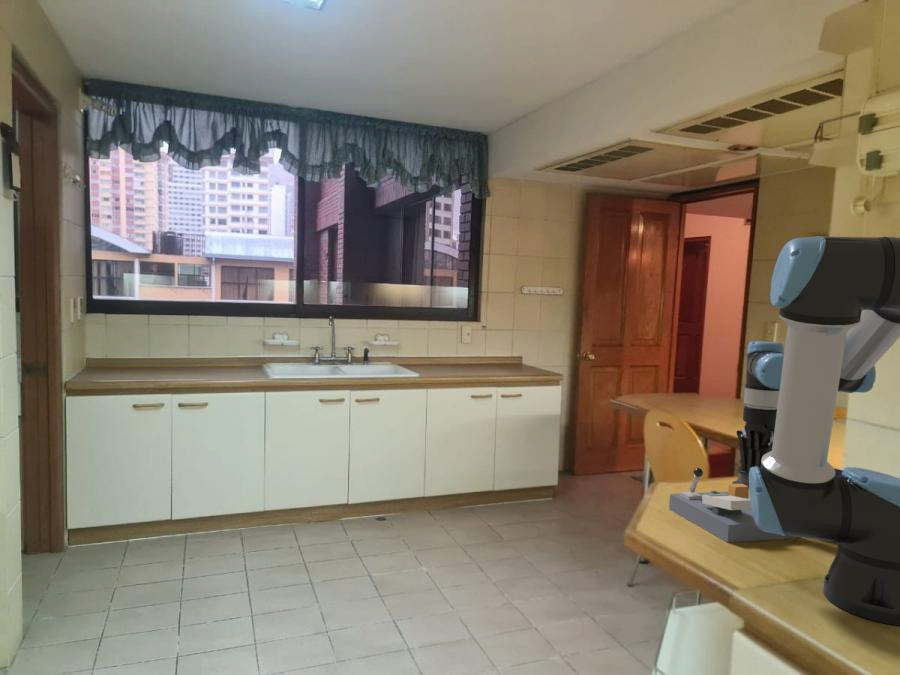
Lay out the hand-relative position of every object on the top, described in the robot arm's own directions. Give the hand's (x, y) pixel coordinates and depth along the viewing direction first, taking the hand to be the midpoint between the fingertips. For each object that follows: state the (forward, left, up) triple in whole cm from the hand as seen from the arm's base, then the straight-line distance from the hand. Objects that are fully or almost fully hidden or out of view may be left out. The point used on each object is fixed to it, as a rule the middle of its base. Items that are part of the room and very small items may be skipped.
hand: (754, 504), depth 143 cm
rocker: (0, +8, +1) cm, 8 cm away
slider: (+6, 0, -2) cm, 6 cm away
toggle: (+12, +9, -1) cm, 15 cm away
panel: (+4, +4, -6) cm, 8 cm away
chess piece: (+22, -15, -6) cm, 27 cm away
